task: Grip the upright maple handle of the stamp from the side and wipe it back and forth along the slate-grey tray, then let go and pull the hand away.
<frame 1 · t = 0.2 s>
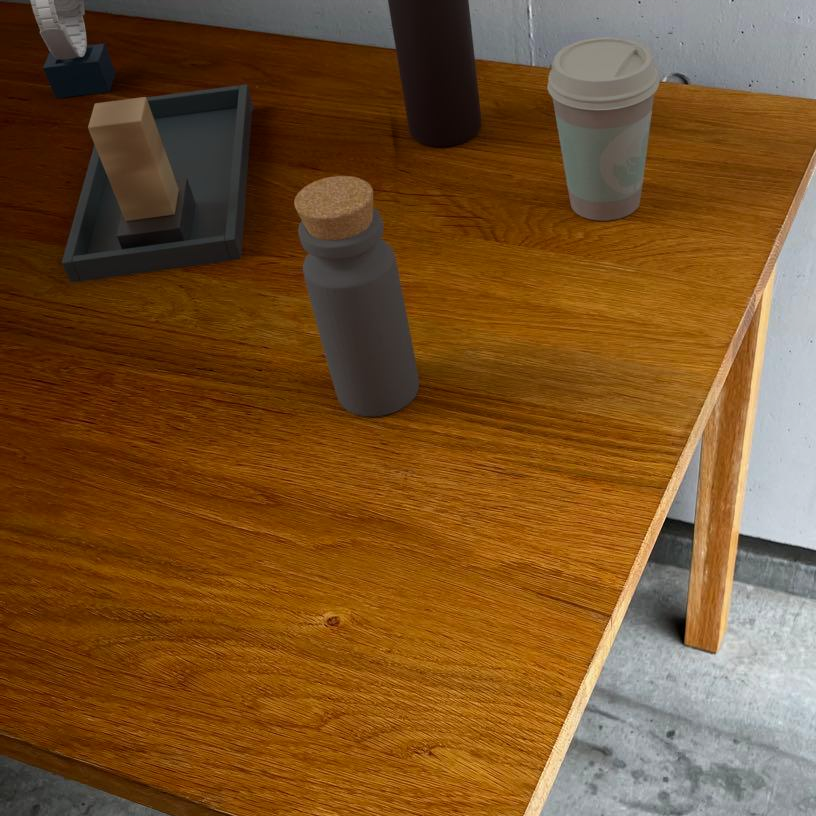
coffee cup: (605, 204, 88), on the table
tray: (172, 189, 94), on the table
vinegar: (446, 132, 98), on the table
stamp: (162, 231, 88), point 1 cm above the table, touching tray
watch: (86, 87, 109), on the table
bottle: (379, 392, 74), on the table
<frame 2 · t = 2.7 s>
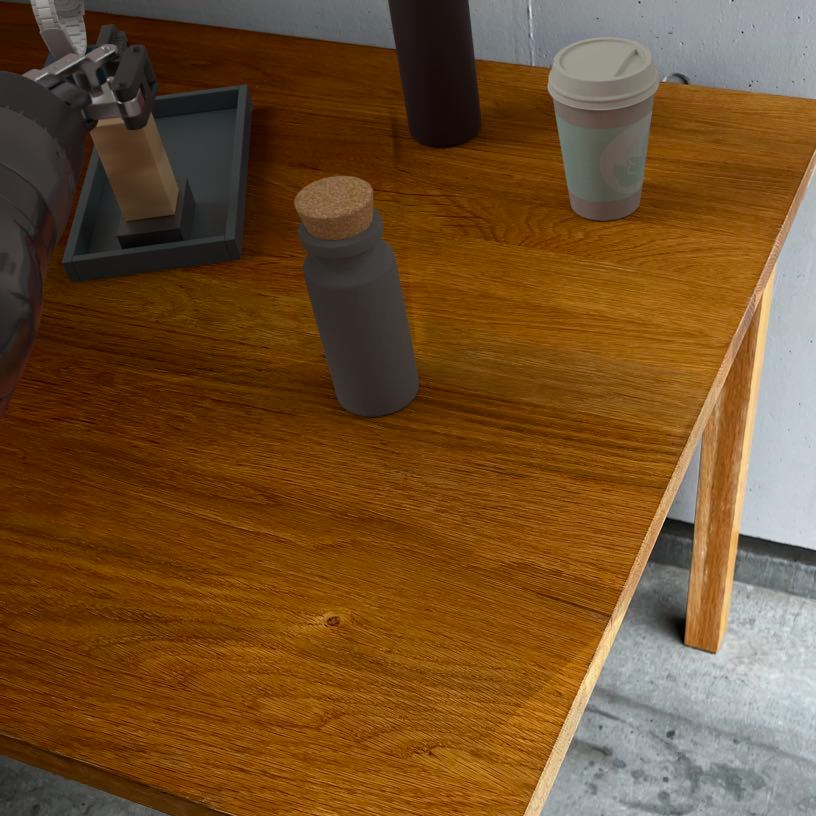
hand: (46, 49, 66), 20 cm above the table, tool horizontal, fingers open, 8 cm apart
nothing on the table moved.
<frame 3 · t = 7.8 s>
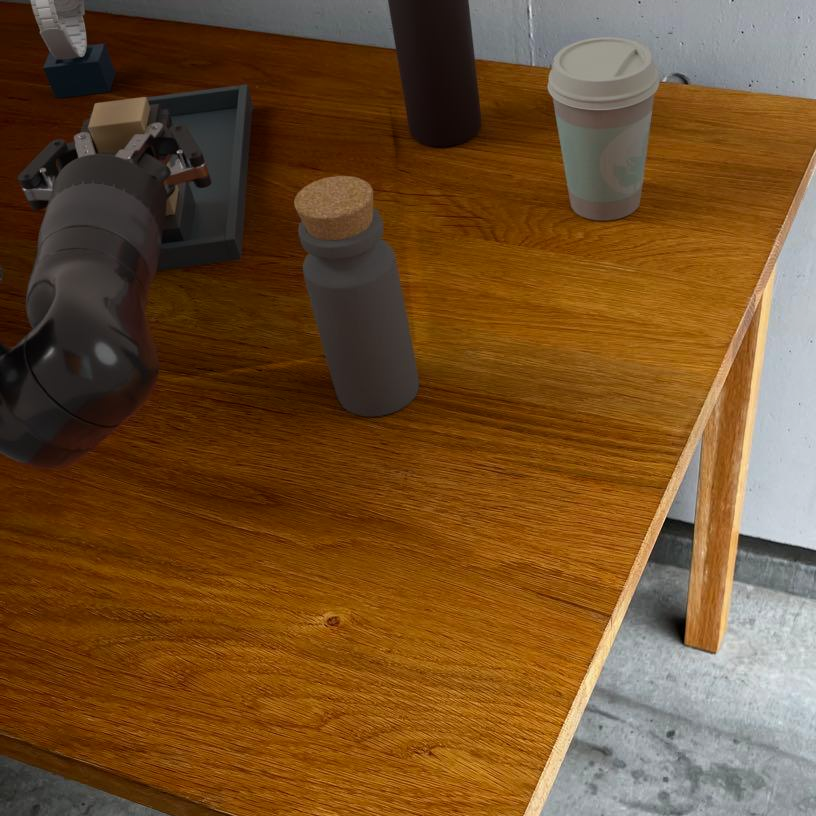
hand: (130, 119, 84), 9 cm above the table, tool horizontal, fingers closed on stamp, 4 cm apart
stamp: (162, 231, 88), point 1 cm above the table, touching gripper, tray
everything else where it was.
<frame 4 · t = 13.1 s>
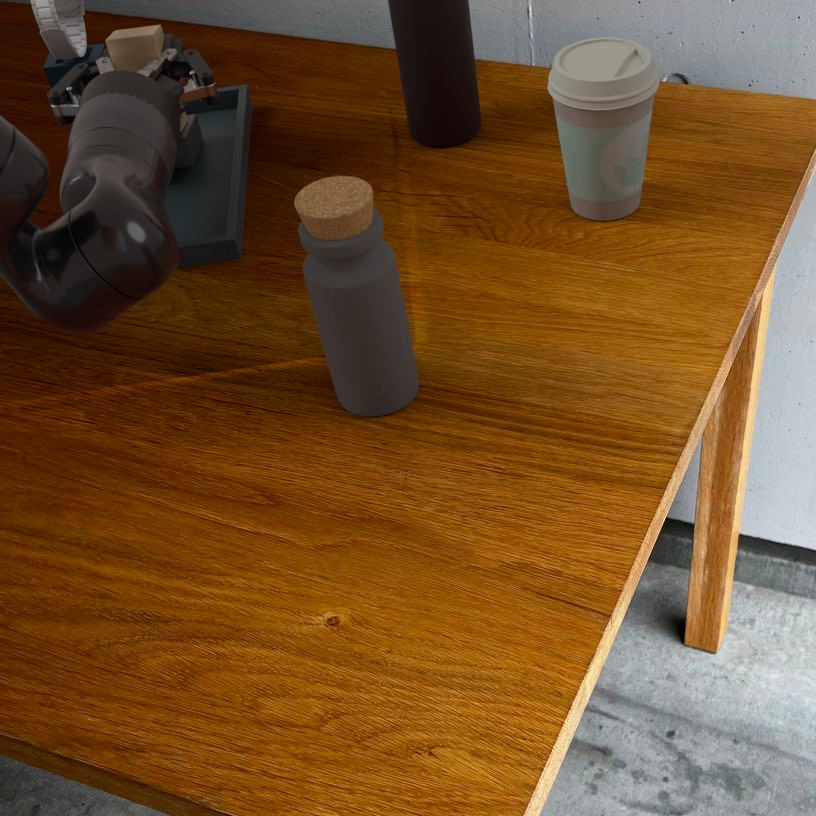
hand: (146, 48, 92), 9 cm above the table, tool horizontal, fingers closed on stamp, 4 cm apart
stamp: (170, 156, 95), point 1 cm above the table, tilted 12°, touching gripper
everything else where it was.
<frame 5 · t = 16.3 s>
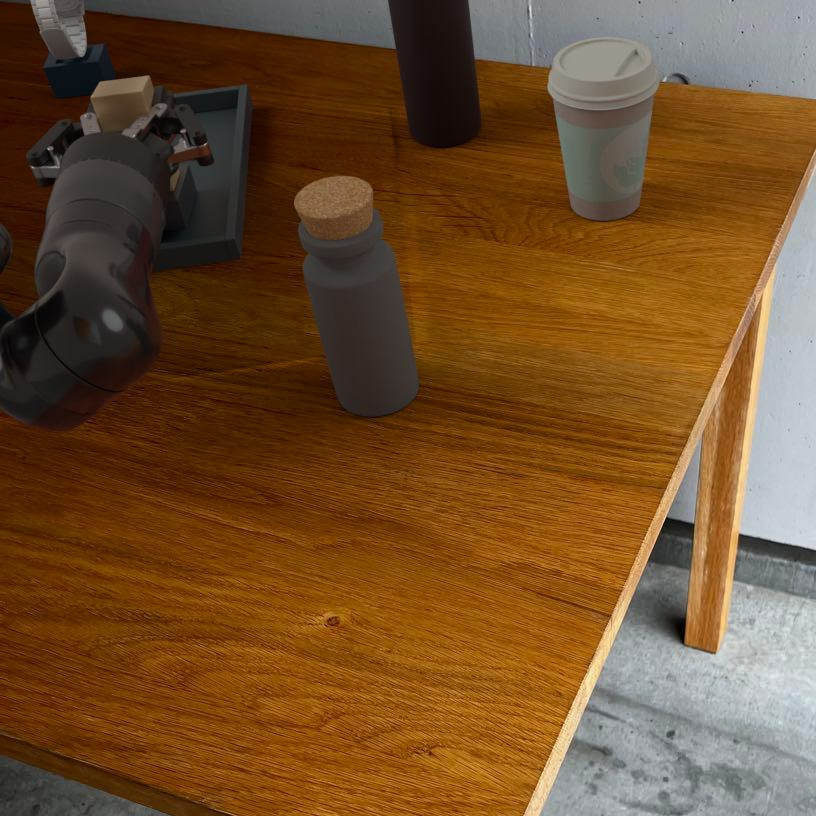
hand: (135, 101, 86), 9 cm above the table, tool horizontal, fingers closed on stamp, 4 cm apart
stamp: (162, 213, 89), point 1 cm above the table, tilted 8°, touching gripper
everything else where it was.
when the fingers open (9 cm above the table, at t = 18.8 s): stamp stays where it is, resting on tray.
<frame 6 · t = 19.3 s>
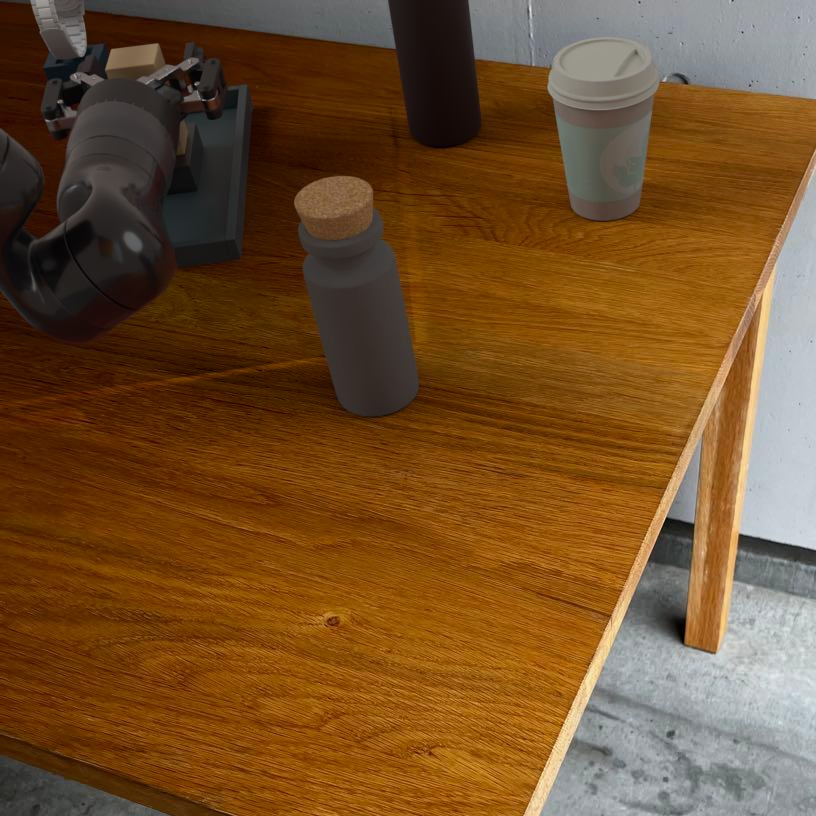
hand: (144, 59, 91), 9 cm above the table, tool horizontal, fingers open, 8 cm apart
stamp: (172, 171, 95), point 1 cm above the table, touching tray
everything else where it was.
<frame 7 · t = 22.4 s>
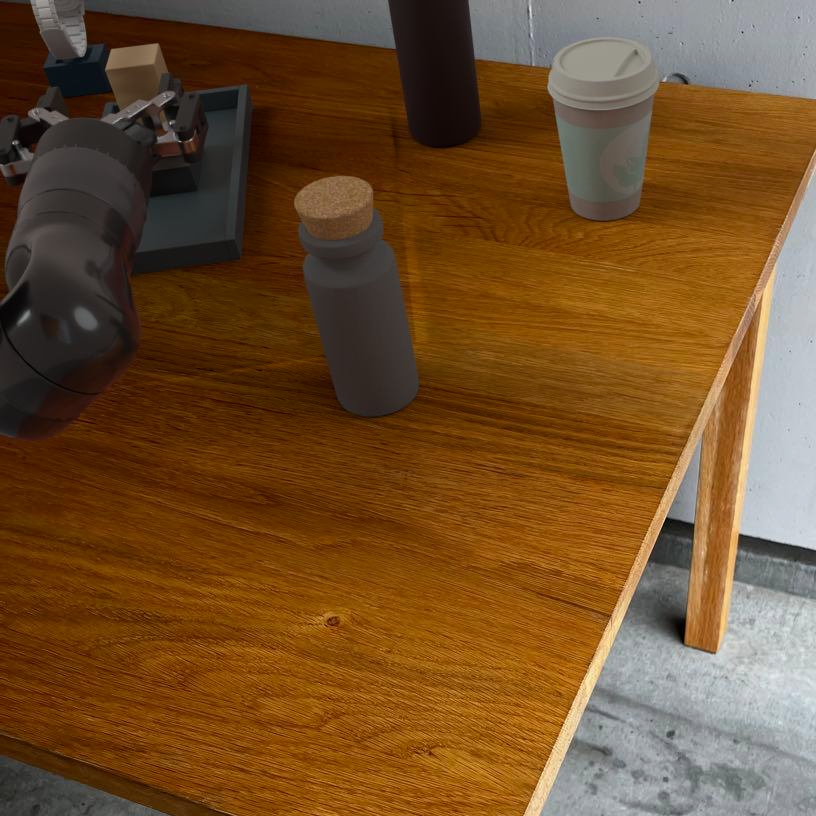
hand: (114, 91, 81), 12 cm above the table, tool horizontal, fingers open, 8 cm apart
nothing on the table moved.
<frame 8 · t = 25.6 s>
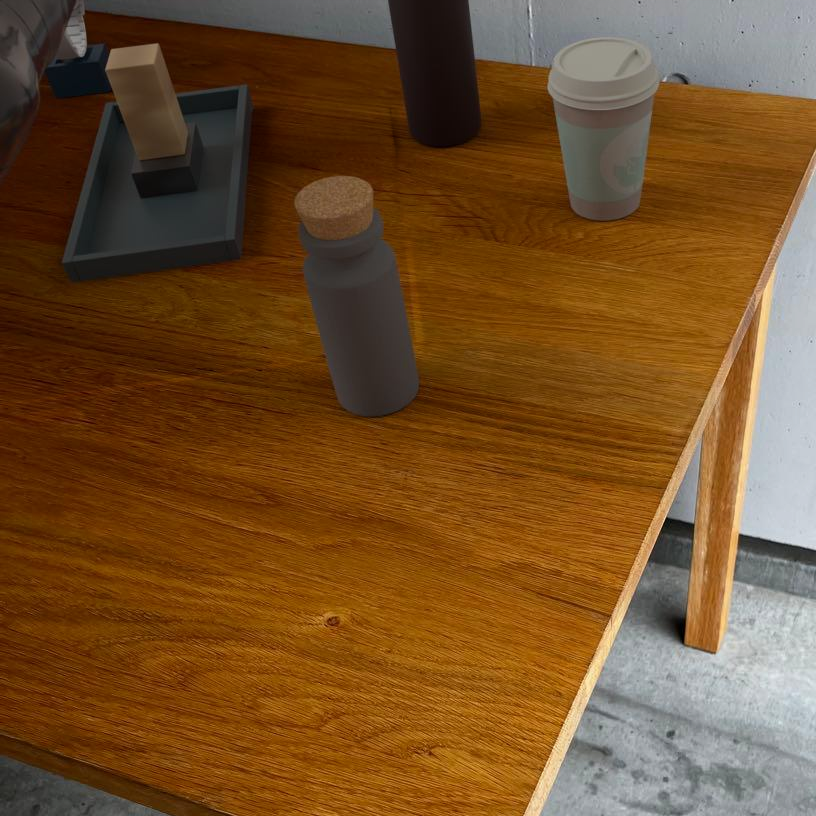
nothing on the table moved.
at the end: stamp inside the target area in the tray (2.6 cm from its centre), point 0.6 cm above the tray's base; stamp tilted 0°; the gripper is holding nothing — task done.
